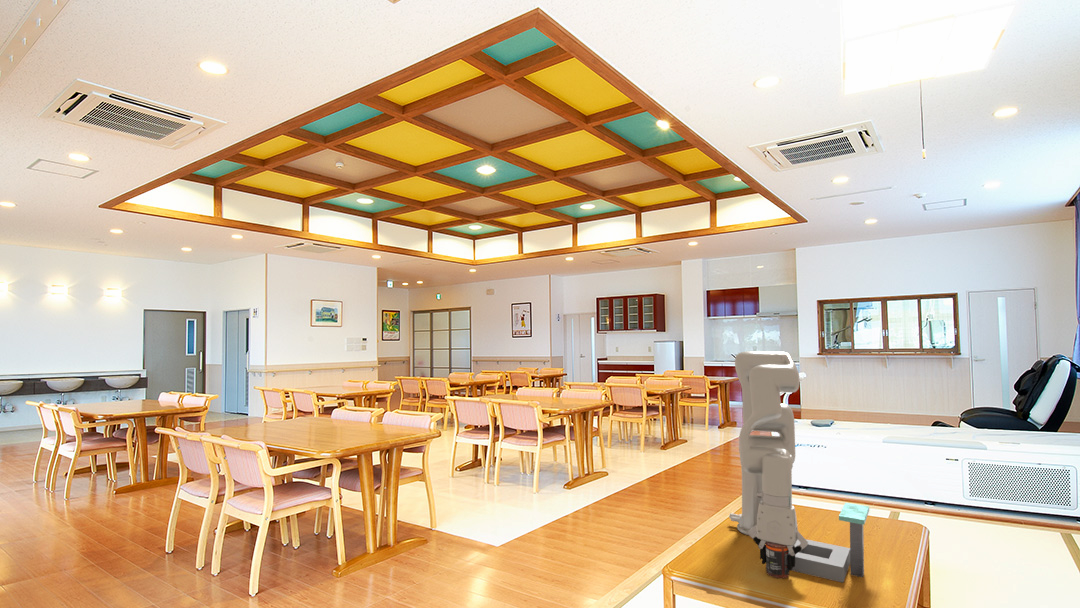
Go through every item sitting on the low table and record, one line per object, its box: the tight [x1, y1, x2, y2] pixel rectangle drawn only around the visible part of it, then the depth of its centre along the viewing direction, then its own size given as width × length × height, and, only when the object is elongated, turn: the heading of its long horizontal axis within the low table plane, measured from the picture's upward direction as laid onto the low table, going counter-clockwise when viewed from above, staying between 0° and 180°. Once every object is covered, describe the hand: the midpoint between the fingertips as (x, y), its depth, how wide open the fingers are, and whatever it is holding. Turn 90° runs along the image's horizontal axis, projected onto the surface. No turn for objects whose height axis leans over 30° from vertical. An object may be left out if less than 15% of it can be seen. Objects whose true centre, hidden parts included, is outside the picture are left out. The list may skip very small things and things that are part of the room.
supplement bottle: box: [765, 542, 790, 579], centre depth 157 cm, size 6×6×11 cm
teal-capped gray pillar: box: [838, 502, 870, 578], centre depth 158 cm, size 6×14×17 cm, turn 145°
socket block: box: [791, 538, 850, 583], centre depth 164 cm, size 16×16×4 cm
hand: (777, 564), depth 157 cm, fingers open, 6 cm apart
